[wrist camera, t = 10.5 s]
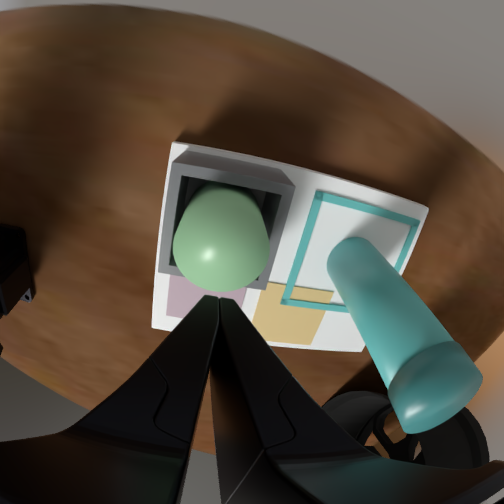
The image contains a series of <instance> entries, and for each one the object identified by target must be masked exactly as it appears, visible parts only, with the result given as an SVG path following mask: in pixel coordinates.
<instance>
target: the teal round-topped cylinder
mask: <svg viewBox="0 0 504 504" xmlns="http://www.w3.org/2000/svg"><path fill="white" fill-rule="evenodd" d="M327 272H328V274H329V276H330V278H331V280H332V282H333V284H334V285H335V287H336V289H337V291H338V293H339V295H340V297H341V298H342V300H343V302H344V304H345V306H346V308H347V310H348V312H349V313H350V315H351V317H352V319H353V321H354V323H355V325H356V327H357V329H358V331H359V333H360V335H361V337H362V339H363V341H364V342H365V344H366V346H367V348H368V350H369V352H370V354H371V356H372V358H373V360H374V363H375V365H376V367H377V369H378V371H379V373H380V375H381V377H382V379H383V381H384V383H385V385H386V387H387V389H388V397H389V399H390V402H391V404H392V406H393V408H394V410H395V413H396V415H397V417H398V419H399V422H400V424H401V426H402V428H403V430H404V431H405V432H406V433H409V434H414V433H420V432H423V431H426V430H429V429H431V428H434V427H436V426H438V425H440V424H441V423H443V422H445V421H446V420H448V419H449V418H451V417H452V416H454V415H455V414H456V413H458V412H459V411H460V410H461V409H462V408H463V407H464V406H465V405H466V404H467V403H468V402H469V401H470V400H471V399H472V398H473V397H474V395H475V394H476V393H477V391H478V390H479V388H480V386H481V383H482V380H483V376H482V374H481V372H480V371H479V370H478V368H477V367H476V365H475V364H474V363H473V361H472V360H471V358H470V357H469V356H468V354H467V353H466V352H465V350H464V349H463V348H462V346H461V345H460V344H459V343H457V342H455V341H454V340H453V338H452V337H451V336H450V335H449V333H448V332H447V331H446V329H445V328H444V327H443V326H442V324H441V323H440V322H439V321H438V319H437V318H436V317H435V316H434V314H433V313H432V312H431V311H430V309H429V308H428V307H427V306H426V305H425V303H424V302H423V301H422V300H421V299H420V297H419V296H418V295H417V294H416V293H415V291H414V290H413V289H412V288H411V287H410V286H409V284H408V283H407V282H406V281H405V280H404V279H403V278H402V276H401V275H400V274H399V273H398V272H397V271H396V270H395V269H394V267H393V266H392V265H391V264H390V263H389V262H388V261H387V260H386V259H385V258H384V256H383V255H382V254H381V253H380V252H379V251H378V250H377V249H376V248H375V247H374V246H373V245H372V244H371V242H369V241H368V240H367V239H364V238H361V237H351V238H347V239H345V240H343V241H341V242H340V243H338V244H337V245H336V246H335V247H334V248H333V249H332V251H331V252H330V254H329V256H328V259H327Z"/></svg>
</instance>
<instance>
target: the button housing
mask: <svg viewBox="0 0 504 504" xmlns="http://www.w3.org/2000/svg"><path fill="white" fill-rule="evenodd" d="M189 177H195V178H200V179H206V180H211V181H217V182H222V183H227V184H232V185H237V186H242V187H247V188H252V189H257V190H262V191H266V195H265V199H264V202H263V206H262V210H261V215H262V218H263V221H264V225H265V228H266V231H267V235H268V239H269V244H270V253H269V258H268V262H267V264H266V266H265V268H264V270H263V271H262V273H261V274H260V275H259V276H258V277H257V279H255V280H254V281H253V282H252V283H250V284H248V285H247V286H245V287H246V288H252V289H259V290H265V291H266V287H267V284H268V281H269V277H270V274H271V271H272V267H273V264H274V261H275V257H276V254H277V250H278V247H279V244H280V240H281V237H282V233H283V230H284V226H285V223H286V219H287V216H288V212H289V209H290V205H291V202H292V198H293V195H294V191H295V188H296V186H295V185H294V184H293V183H292V182H291V180H290V179H289V178H288V177H287V176H286V174H285V173H284V172H283V171H282V170H281V169H277V168H273V167H269V166H264V165H260V164H255V163H251V162H246V161H241V160H236V159H231V158H226V157H221V156H216V155H210V154H205V153H199V152H193V151H187V150H185V151H184V152H183V153H181V154H180V155H179V156H178V157H177V158H176V159H175V160H174V161H172V165H171V171H170V177H169V183H168V190H167V197H166V204H165V211H164V219H163V227H162V236H161V245H160V254H159V265H158V272H159V273H164V274H170V275H175V276H181V277H185V276H184V275H183V274H182V273H181V271H180V270H179V268H178V266H177V264H176V262H175V259H174V255H173V241H174V236H175V233H176V231H177V228H178V226H179V223H180V221H181V219H182V216H183V212H184V206H185V200H186V194H187V188H188V182H189Z"/></svg>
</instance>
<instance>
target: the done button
mask: <svg viewBox="0 0 504 504" xmlns="http://www.w3.org/2000/svg"><path fill="white" fill-rule="evenodd" d="M269 253H270V244H269V239H268V235H267V231H266V228H265V225H264V221H263V218H262V215H261V211H260V208H259V205H258V202H257V199H256V197H255V195H254V194H253V193H252V191H251V190H250V189H249V188H247V187H242V186H237V185H232V184H227V183H222V182H217V181H211V180H210V181H208V182H206V183H204V184H202V185H201V186H200V187H198V188H197V189H196V190H195V192H194V193H193V194H192V196H191V198H190V200H189V202H188V204H187V207H186V209H185V211H184V214H183V216H182V219H181V221H180V223H179V226H178V228H177V231H176V233H175V236H174V241H173V255H174V259H175V262H176V264H177V266H178V268H179V270H180V271H181V273H182V274H183V275H184V276H185V277H186V278H187V279H188V280H189V281H190V282H192V283H193V284H195V285H196V286H199V287H201V288H203V289H206V290H210V291H216V292H228V291H234V290H237V289H240V288H243V287H245V286H247V285H248V284H250V283H252V282H253V281H254V280H255V279H257V277H258V276H259V275H260V274H261V273H262V271H263V270H264V268H265V266H266V264H267V262H268V258H269Z"/></svg>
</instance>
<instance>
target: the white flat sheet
mask: <svg viewBox="0 0 504 504" xmlns="http://www.w3.org/2000/svg"><path fill="white" fill-rule="evenodd" d="M185 150H187V151H193V152H199V153H205V154H210V155H216V156H221V157H226V158H231V159H236V160H241V161H246V162H251V163H255V164H260V165H264V166H269V167H273V168H277V169H281V170H282V171H283V172H284V173H285V174H286V176H287V177H288V178H289V179H290V180H291V182H292V183H293V184H294V185H295V186H296V188H295V191H294V195H293V198H292V202H291V205H290V209H289V212H288V216H287V219H286V223H285V226H284V230H283V233H282V237H281V240H280V244H279V247H278V250H277V254H276V257H275V261H274V264H273V267H272V271H271V274H270V277H269V281H268V284H267V287H266V291H265V290H259V289H252V288H246V287H243V288H240V289H237V290H234V291H228V292H216V291H210V290H206V289H203V288H201V287H199V286H196V285H195V284H193V283H192V282H190V281H189V280H188V279H187V278H186V277H181V276H175V275H170V274H164V273H159V272H158V265H159V254H160V245H161V236H162V227H163V219H164V211H165V204H166V197H167V190H168V183H169V177H170V171H171V165H172V161H174V160H175V159H176V158H177V157H178V156H179V155H180V154H181V153H183V152H184V151H185ZM208 181H210V180H206V179H200V178H195V177H189V182H188V188H187V194H186V200H185V206H184V211H185V209H186V207H187V204H188V202H189V200H190V198H191V196H192V194H193V193H194V192H195V190H196V189H197V188H198V187H200V186H201V185H202V184H204V183H206V182H208ZM249 189H250V190H251V191H252V193H253V194H254V195H255V197H256V199H257V202H258V205H259V208H260V211H261V210H262V206H263V202H264V199H265V195H266V191H262V190H257V189H252V188H249ZM428 211H429V208H428V207H426V206H424V205H422V204H420V203H417V202H414V201H411V200H408V199H405V198H403V197H400V196H397V195H394V194H391V193H388V192H385V191H382V190H379V189H376V188H372V187H369V186H366V185H363V184H359V183H356V182H353V181H350V180H346V179H343V178H339V177H336V176H332V175H329V174H325V173H321V172H318V171H314V170H310V169H306V168H302V167H299V166H295V165H291V164H287V163H282V162H278V161H274V160H270V159H265V158H261V157H256V156H252V155H247V154H242V153H237V152H232V151H227V150H222V149H217V148H212V147H206V146H200V145H195V144H189V143H183V142H176V141H174V142H172V146H171V152H170V158H169V164H168V170H167V176H166V183H165V189H164V197H163V204H162V212H161V220H160V228H159V237H158V247H157V257H156V268H155V281H154V295H153V312H152V328H156V329H161V330H167V331H172V330H173V329H174V328H175V327H176V326H177V325H178V324H179V322H180V321H181V320H182V319H183V318H184V317H185V316H186V315H187V313H188V312H189V311H190V310H191V309H192V308H193V307H194V306H195V305H196V303H197V302H198V301H199V300H200V299H201V298H202V297H203V296H204V295H212V296H217V297H218V298H220V297H224V298H231V299H234V300H235V301H236V303H237V304H238V305H239V307H240V308H241V309H242V311H243V312H244V313H245V314H246V316H247V317H248V318H249V320H250V321H251V322H252V324H253V325H254V326H255V328H256V329H257V330H258V332H259V333H260V334H261V335H262V337H263V338H264V339H265V341H266V342H267V343H268V344H269V345H271V346H281V347H291V348H303V349H316V350H331V351H350V352H361V351H362V350H363V348H364V346H365V345H366V344H365V342H364V341H363V339H362V337H361V335H360V333H359V331H358V329H357V327H356V325H355V323H354V321H353V319H352V317H351V315H350V313H349V312H348V310H347V308H346V306H345V304H344V302H343V300H342V298H341V297H340V295H339V293H338V291H337V289H336V287H335V285H334V284H333V282H332V280H331V278H330V276H329V274H328V272H327V259H328V256H329V254H330V252H331V251H332V249H333V248H334V247H335V246H336V245H337V244H338V243H340V242H341V241H343V240H345V239H347V238H351V237H361V238H364V239H367V240H368V241H369V242H371V244H372V245H373V246H374V247H375V248H376V249H377V250H378V251H379V252H380V253H381V254H382V255H383V256H384V258H385V259H386V260H387V261H388V262H389V263H390V264H391V265H392V266H393V267H394V269H395V270H396V271H397V272H398V273H399V274H400V275H402V273H403V271H404V269H405V267H406V264H407V262H408V260H409V258H410V255H411V253H412V251H413V248H414V246H415V244H416V241H417V239H418V236H419V234H420V231H421V229H422V226H423V224H424V221H425V219H426V216H427V213H428ZM183 214H184V212H183Z"/></svg>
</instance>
